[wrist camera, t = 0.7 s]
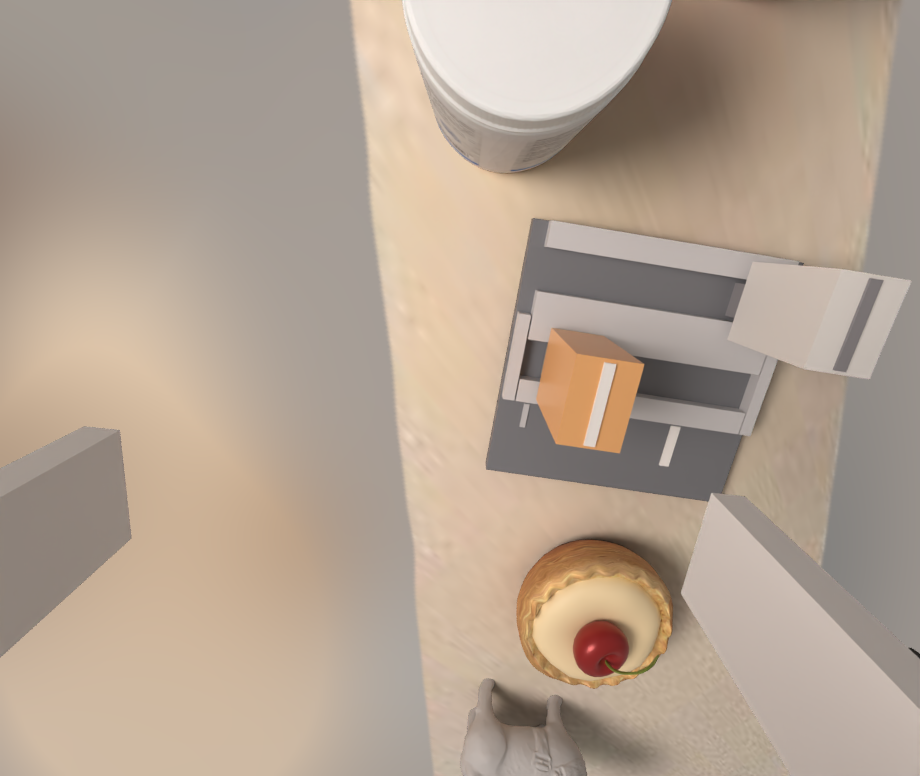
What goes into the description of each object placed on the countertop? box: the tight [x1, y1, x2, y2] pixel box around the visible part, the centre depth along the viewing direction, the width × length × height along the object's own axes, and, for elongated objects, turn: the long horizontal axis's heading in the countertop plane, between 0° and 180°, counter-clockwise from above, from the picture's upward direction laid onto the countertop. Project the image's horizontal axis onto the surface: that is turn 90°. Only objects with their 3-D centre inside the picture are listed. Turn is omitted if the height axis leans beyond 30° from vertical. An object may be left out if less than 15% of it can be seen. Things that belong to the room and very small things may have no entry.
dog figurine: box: [460, 678, 587, 776], centre depth 40 cm, size 5×13×11 cm, turn 74°
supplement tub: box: [402, 0, 672, 173], centre depth 23 cm, size 10×10×15 cm
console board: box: [486, 218, 911, 502], centre depth 30 cm, size 18×18×10 cm
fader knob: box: [536, 328, 645, 453], centre depth 29 cm, size 5×4×9 cm
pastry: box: [517, 540, 673, 689], centre depth 36 cm, size 12×12×9 cm
